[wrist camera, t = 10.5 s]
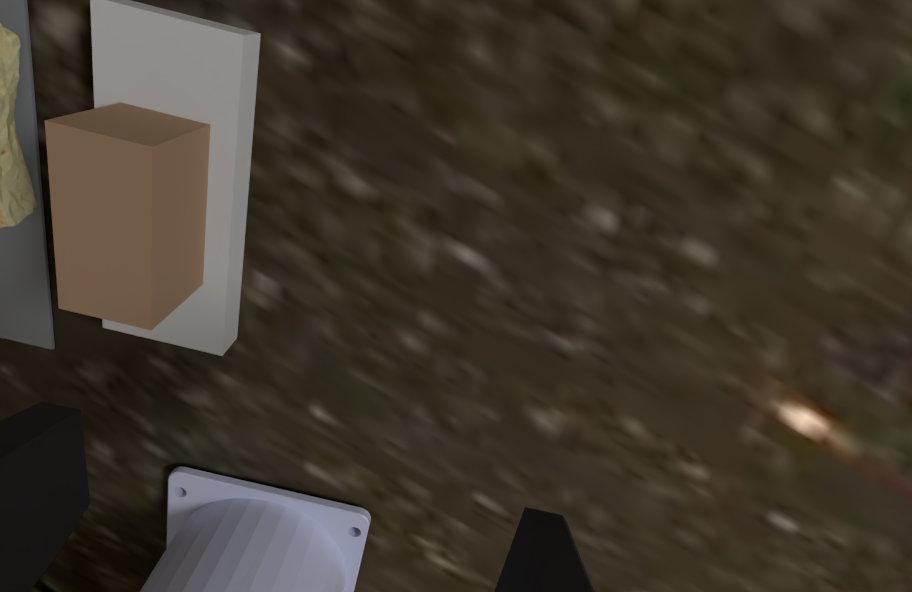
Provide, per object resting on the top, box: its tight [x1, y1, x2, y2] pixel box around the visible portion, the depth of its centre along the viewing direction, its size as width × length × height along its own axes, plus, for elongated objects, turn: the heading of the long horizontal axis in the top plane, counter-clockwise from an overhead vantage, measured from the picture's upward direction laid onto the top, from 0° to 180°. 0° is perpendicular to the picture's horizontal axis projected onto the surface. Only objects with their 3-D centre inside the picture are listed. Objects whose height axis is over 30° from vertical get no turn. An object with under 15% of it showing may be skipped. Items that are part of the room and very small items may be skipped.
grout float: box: [45, 0, 260, 356], centre depth 17 cm, size 10×4×4 cm, turn 167°
